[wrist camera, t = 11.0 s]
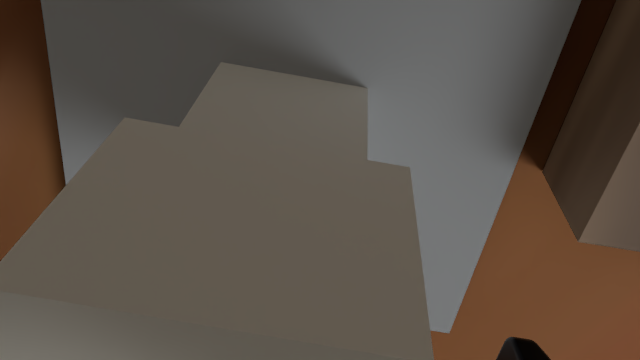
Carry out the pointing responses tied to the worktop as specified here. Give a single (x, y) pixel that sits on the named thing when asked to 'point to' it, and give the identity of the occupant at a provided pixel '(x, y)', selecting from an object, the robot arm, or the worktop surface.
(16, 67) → the worktop surface
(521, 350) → the robot arm
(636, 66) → the walnut bore block
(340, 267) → the end cover
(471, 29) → the grey mat
